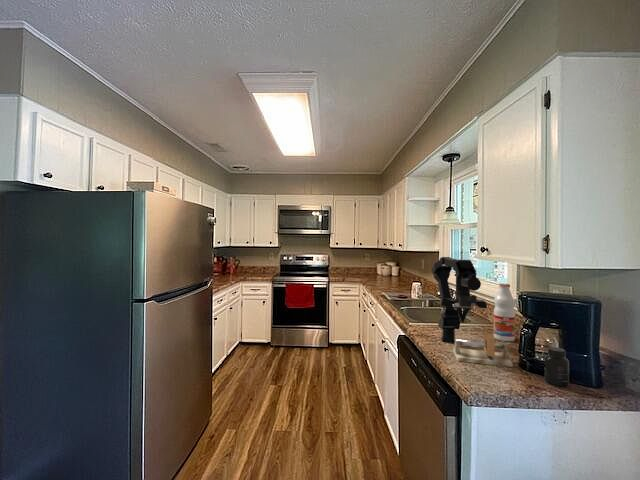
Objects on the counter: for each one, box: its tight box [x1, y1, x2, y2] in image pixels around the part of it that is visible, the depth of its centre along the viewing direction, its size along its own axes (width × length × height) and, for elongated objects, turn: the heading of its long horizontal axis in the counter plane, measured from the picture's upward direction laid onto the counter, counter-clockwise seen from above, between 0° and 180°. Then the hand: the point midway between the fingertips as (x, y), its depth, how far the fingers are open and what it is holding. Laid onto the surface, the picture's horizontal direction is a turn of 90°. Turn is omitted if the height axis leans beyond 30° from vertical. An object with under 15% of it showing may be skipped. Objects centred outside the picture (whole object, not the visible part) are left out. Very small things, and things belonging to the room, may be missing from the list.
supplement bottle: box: [543, 346, 570, 388], centre depth 108 cm, size 7×7×12 cm
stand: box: [452, 337, 513, 368], centre depth 131 cm, size 20×12×7 cm, turn 75°
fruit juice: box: [493, 283, 516, 342], centre depth 159 cm, size 9×9×28 cm
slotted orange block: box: [483, 332, 496, 357], centre depth 130 cm, size 2×7×8 cm, turn 165°
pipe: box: [454, 338, 509, 350], centre depth 131 cm, size 20×3×3 cm, turn 75°
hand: (462, 321), depth 140 cm, fingers closed
